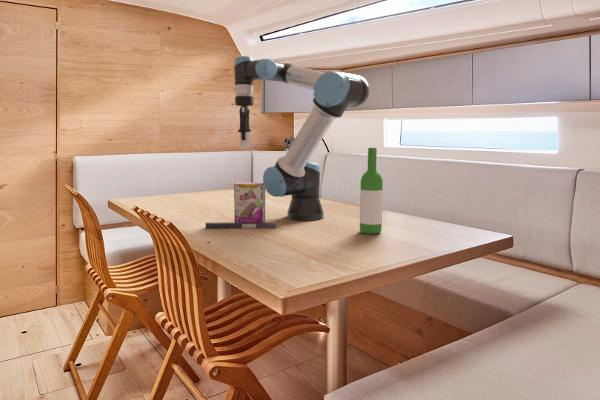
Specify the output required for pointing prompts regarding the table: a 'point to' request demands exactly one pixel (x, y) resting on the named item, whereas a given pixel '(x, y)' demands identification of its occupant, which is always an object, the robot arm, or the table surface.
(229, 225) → the price rail
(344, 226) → the table surface
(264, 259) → the table surface
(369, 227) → the wine bottle
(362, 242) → the table surface
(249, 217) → the candy bar box
